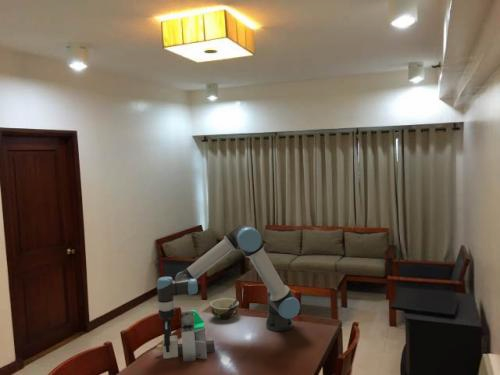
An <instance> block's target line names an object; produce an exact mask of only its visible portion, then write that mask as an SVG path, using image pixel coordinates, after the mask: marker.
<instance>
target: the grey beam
mask: <svg viewBox="0 0 500 375" xmlns="http://www.w3.org/2000/svg"><path fill="white" fill-rule="evenodd" d="M161 342H162V344H157V345H156V350H157V352H158V351H162V356H163V357H162V358H163V359H165V346H163V345H164V336H162V341H161ZM204 342H206V350H207V353H212V352H215V351H216V349H215V348H216V347H215V339H213V340H206V341H204ZM170 345H171V358H177V357H179V356H183V347H182V343H179V336H178V335H177V334H176V335H175V334H174V335H173V336H170Z"/></svg>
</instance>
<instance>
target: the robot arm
mask: <svg viewBox="0 0 500 375" xmlns="http://www.w3.org/2000/svg"><path fill="white" fill-rule="evenodd" d="M238 249H240V251H241V252H242V254H243V256H244V257H245V258H249V261H251V263H252V266H253V267H254V269H255V270H256V272H257V274H258V275H259V277H260V279H261V280H262V282H263V284H264V285H265V287H266V288H267V291H266V294H267V306H268V307H267V317H266V321H265V327H266V329H267V330H269V331H271V332H285V331H286V332H287V331H289V330H291V329H292V328H293V326H294V323H293V318H295V317H296V316H297V315H298V314H299V313H300V310H301V304H300V302H299V300H298V299H297V298H296V297H295V295H294V294H293V292H292V291H291V289H290V287H289V286H288V285H287V284H284V282H283V281H282V280H281V277H280V275H279V274H278V271H277V270H276V268H275V267H274V265H273V263H272V261H271V260H270V258H269V257H268V254H267V253H266V251H265V243H264V242H263V240H262V236H261V234H260V231H259V230H257V229H256V228H254V227H253V226H249V225H248V224H239V225H237V226H235V227H234V228H233V229H231V230H230V231H228V232H227V233H226V234H225V235H224V236H223V239H222V240H221V241H220V242H218V243H217V244H216V245H214V246H213V247H212V248H211V249H209V250H208V251H207V252H206V253H205V254H203V255H202V256H201V257H199V259H197V260H196V261H195V262H193V263H192V264H191V265H189V266H188V267H187V268H185V269H184V270H183V271H180V272H178V273H177V274H176V275H175V280H173V277H172V276H161V277H159V278H158V279H157V281H156V286H157V287H156V290H157V292H156V293H157V301H158V302H157V303H156V305H157V306H158V318H159V319H162V326H163V328H162V330H163V337H164V345H163V344H162V345H163V346H165V358H164V359H172V357H171V345H170V336H174V335H173V334H172V328H171V327H172V318H174V316H175V301H174V297H178V296H179V297H180V296H187V295H189V296H191V295H194V294H197V293H198V288H199V286H198V279H199V278H200V277H201V276H202V275H204V274H205V273H206V272H207V271H208V270H210V269H211V268H212V267H213V266H215V265H216V264H217V263H219V262H220V261H221V260H222V259H223V258H224V257H225V256H227V255H228V254H230V253H231V252H233V251H236V250H238Z"/></svg>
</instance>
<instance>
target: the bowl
mask: <svg viewBox="0 0 500 375" xmlns="http://www.w3.org/2000/svg"><path fill="white" fill-rule="evenodd" d="M239 304H240V302H239V300H238V299H237V298H236V299H235V298H232V297H231V298H230V297H223V298H218V299H214V300H212V301H210V303H209V305H210V307H211V310H210V311H211V312H210V313H211V314H212V316H214V317H216V318H218V319H219V320H228V319H230V318H233V317H235V316H237V315H238V314H239V312H240V310H239ZM234 311H235V312H234Z"/></svg>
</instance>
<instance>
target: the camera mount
mask: <svg viewBox="0 0 500 375" xmlns="http://www.w3.org/2000/svg"><path fill="white" fill-rule="evenodd" d="M189 311H193V313H194V326H195V331H196V330H199V329H202V328H205V321H204V320H203V319H202V317H201V316H200V314H199V313H198V312H197V311H196V310H195V309H191V310H189Z"/></svg>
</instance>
